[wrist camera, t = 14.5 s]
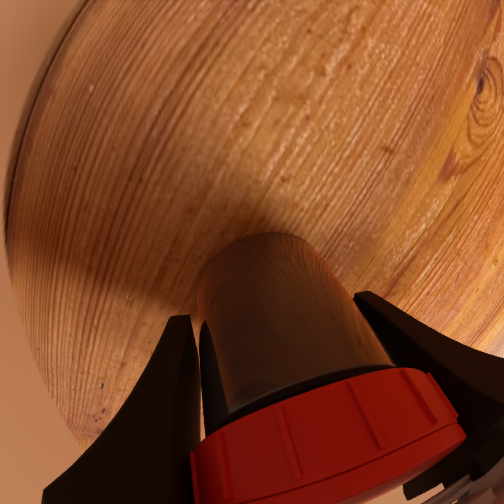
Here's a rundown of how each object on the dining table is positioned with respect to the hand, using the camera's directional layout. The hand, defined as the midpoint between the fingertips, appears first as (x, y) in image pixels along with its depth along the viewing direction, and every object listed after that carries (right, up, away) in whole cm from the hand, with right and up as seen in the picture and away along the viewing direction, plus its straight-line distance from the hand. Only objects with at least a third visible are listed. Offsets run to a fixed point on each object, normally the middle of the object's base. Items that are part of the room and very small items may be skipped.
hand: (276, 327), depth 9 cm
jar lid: (+1, -3, -5) cm, 6 cm away
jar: (0, +1, +2) cm, 2 cm away
